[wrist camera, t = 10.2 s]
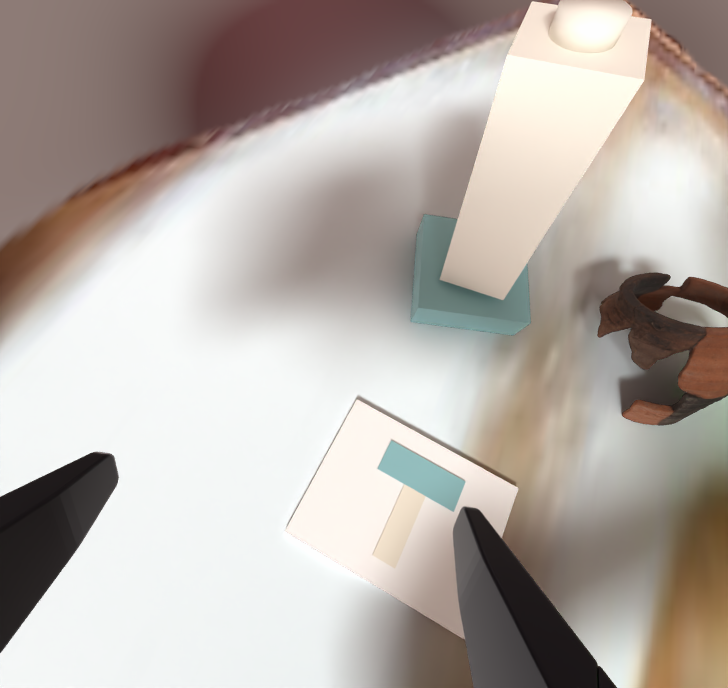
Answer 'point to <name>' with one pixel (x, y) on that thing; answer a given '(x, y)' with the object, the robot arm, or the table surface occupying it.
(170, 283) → the table surface
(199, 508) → the table surface
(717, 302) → the brown curved loop piece
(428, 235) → the base brick
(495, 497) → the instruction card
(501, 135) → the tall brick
